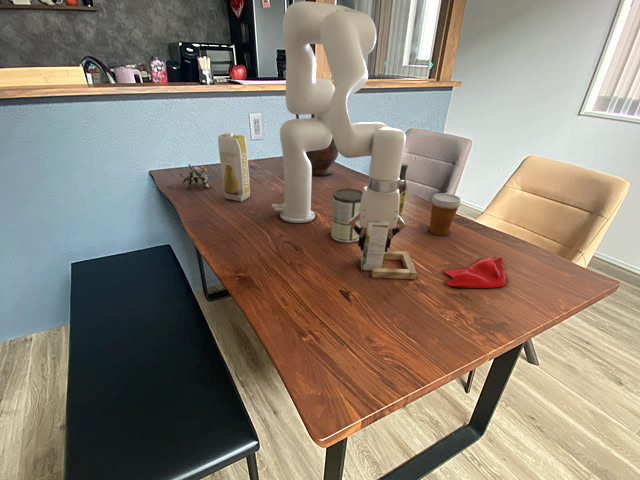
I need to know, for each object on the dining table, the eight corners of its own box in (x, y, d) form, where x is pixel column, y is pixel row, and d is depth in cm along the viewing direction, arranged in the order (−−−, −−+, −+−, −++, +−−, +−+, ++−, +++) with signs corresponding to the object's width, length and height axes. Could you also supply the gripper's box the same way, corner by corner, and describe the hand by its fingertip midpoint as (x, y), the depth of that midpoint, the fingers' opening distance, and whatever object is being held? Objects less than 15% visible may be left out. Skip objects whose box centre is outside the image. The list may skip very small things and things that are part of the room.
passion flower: (208, 200, 157) (214, 181, 147) (182, 198, 152) (186, 179, 142) (203, 178, 160) (208, 159, 150) (177, 176, 155) (181, 156, 145)
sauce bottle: (400, 225, 131) (411, 167, 119) (383, 223, 131) (392, 165, 119) (401, 218, 136) (411, 162, 124) (384, 216, 137) (393, 160, 125)
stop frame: (372, 277, 100) (373, 271, 99) (367, 255, 111) (368, 249, 110) (415, 279, 101) (416, 273, 99) (406, 257, 111) (407, 251, 110)
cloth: (468, 299, 94) (471, 291, 92) (431, 274, 103) (433, 267, 102) (532, 276, 105) (535, 269, 103) (493, 256, 114) (495, 249, 113)
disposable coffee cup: (437, 239, 122) (446, 204, 115) (419, 228, 129) (426, 194, 122) (458, 234, 126) (468, 200, 119) (439, 224, 133) (447, 191, 125)
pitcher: (343, 176, 176) (348, 104, 157) (303, 180, 168) (304, 105, 150) (327, 167, 187) (331, 99, 169) (289, 170, 179) (288, 100, 161)
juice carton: (222, 198, 144) (213, 132, 130) (233, 193, 150) (226, 128, 136) (242, 203, 142) (236, 135, 127) (252, 196, 148) (248, 131, 133)
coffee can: (335, 227, 126) (338, 186, 118) (364, 232, 124) (369, 191, 115) (326, 239, 119) (328, 196, 110) (356, 245, 116) (361, 201, 108)
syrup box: (360, 260, 108) (366, 213, 99) (380, 261, 108) (387, 214, 99) (361, 270, 103) (367, 221, 95) (381, 271, 103) (390, 223, 94)
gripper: (414, 181, 94) (401, 244, 105) (348, 177, 94) (342, 242, 105) (420, 190, 89) (406, 256, 99) (349, 187, 88) (343, 254, 99)
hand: (373, 248), depth 102 cm, fingers closed on syrup box, 5 cm apart
